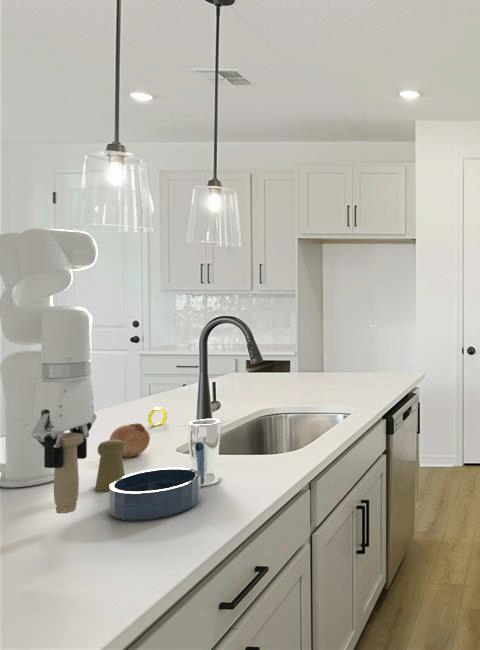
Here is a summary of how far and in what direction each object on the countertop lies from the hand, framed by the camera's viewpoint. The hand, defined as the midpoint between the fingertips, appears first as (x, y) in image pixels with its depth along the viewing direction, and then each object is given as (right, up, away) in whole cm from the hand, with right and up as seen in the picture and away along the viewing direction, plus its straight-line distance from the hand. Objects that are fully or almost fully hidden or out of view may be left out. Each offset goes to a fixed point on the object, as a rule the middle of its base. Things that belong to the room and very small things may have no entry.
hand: (66, 461), depth 111 cm
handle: (0, -10, 0) cm, 10 cm away
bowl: (+11, -13, +12) cm, 20 cm away
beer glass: (+12, -13, +28) cm, 33 cm away
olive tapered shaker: (-8, -12, +23) cm, 27 cm away
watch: (-35, -10, +84) cm, 91 cm away
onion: (-20, -11, +48) cm, 53 cm away
